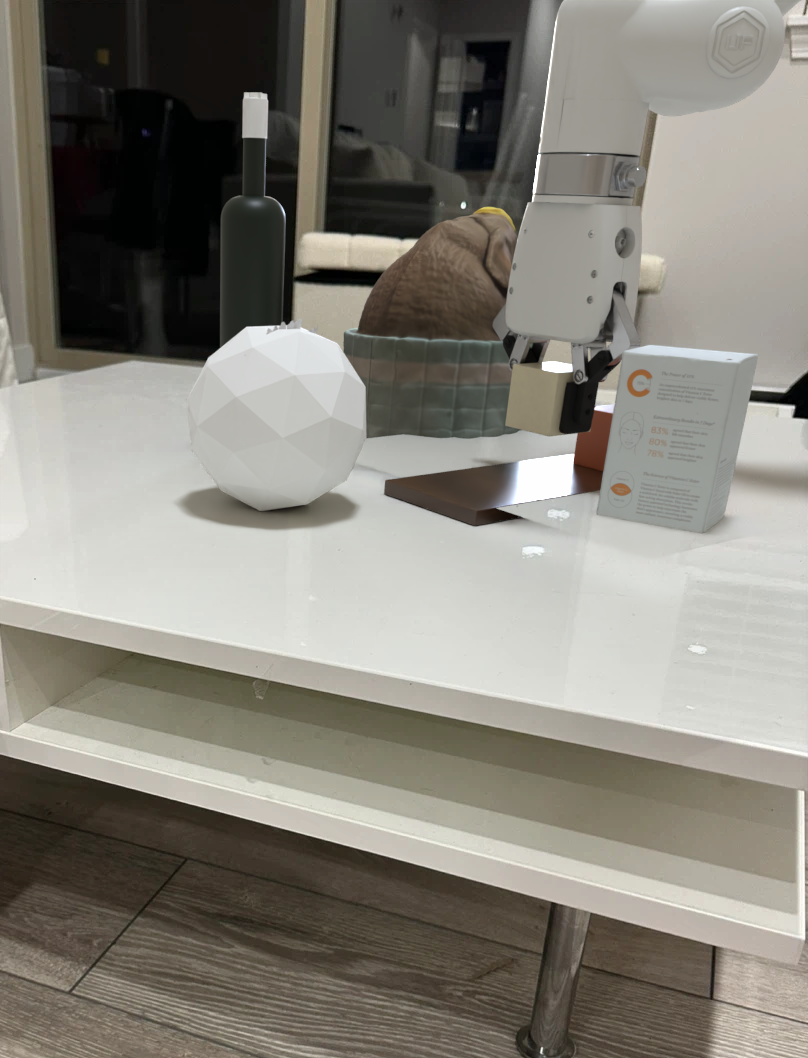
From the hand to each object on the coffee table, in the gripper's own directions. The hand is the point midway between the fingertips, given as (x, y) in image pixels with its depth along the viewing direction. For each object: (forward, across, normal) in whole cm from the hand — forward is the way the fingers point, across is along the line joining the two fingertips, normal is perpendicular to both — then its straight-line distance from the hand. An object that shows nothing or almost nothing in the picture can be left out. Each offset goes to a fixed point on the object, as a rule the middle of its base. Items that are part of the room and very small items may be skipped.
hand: (548, 423), depth 88 cm
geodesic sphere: (+6, +7, +23) cm, 25 cm away
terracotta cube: (+4, 0, -9) cm, 10 cm away
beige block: (0, 0, 0) cm, 0 cm away
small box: (+6, -13, +1) cm, 14 cm away
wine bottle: (+6, +25, +14) cm, 29 cm away
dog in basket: (+6, +26, -12) cm, 29 cm away
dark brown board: (+6, 0, 0) cm, 6 cm away
